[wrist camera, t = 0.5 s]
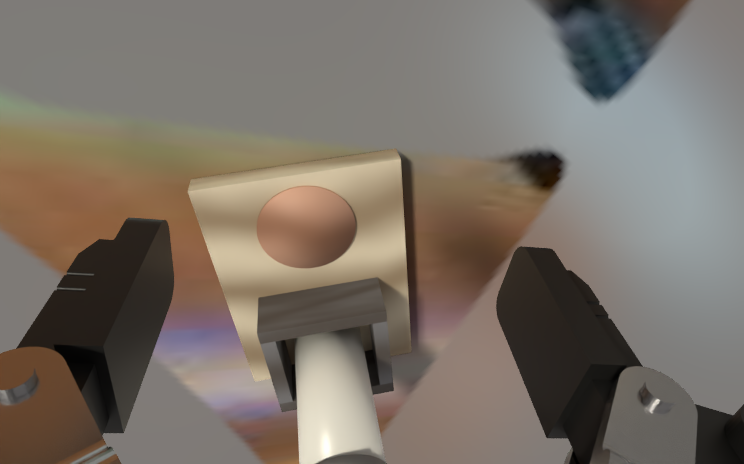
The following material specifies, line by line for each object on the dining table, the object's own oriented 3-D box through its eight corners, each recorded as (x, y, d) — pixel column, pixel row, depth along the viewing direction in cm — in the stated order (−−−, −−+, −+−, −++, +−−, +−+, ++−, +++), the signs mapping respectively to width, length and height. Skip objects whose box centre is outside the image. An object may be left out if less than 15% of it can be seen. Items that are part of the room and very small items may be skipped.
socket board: (191, 179, 30) (178, 223, 26) (395, 148, 32) (413, 186, 27) (255, 366, 41) (253, 419, 37) (407, 339, 42) (421, 386, 38)
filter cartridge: (285, 309, 36) (289, 504, 25) (357, 297, 36) (395, 482, 25) (297, 358, 39) (307, 550, 28) (364, 346, 39) (400, 530, 28)
